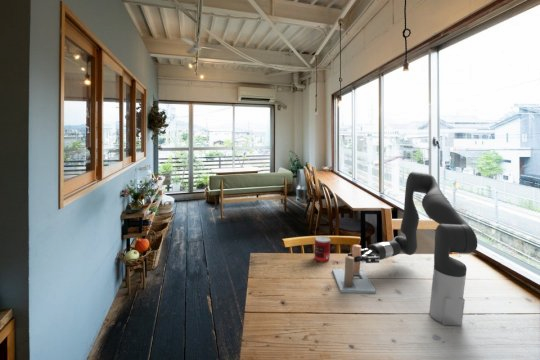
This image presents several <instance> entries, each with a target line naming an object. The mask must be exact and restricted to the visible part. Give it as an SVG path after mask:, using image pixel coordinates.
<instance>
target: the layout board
mask: <svg viewBox="0 0 540 360" xmlns="http://www.w3.org/2000/svg"><path fill="white" fill-rule="evenodd" d="M344 259H345V260H344V262H345V263H344V269H343V268H342V269H341V268H337V269H336V268H332V274H333V276H334V279H335V282H336V284H337V286H338V289H339V292H340V293H347V294H348V293H350V294H353V293H355V294H357V293H358V294H376V293H377V291H376V289H375V287H374V286H373V284H372V282H371V281H370V279H369V278H368V275H367V274H366V273H365V271H364V269H360V273H358V274H356V273H353V269H354V257H351V256H348V255H347V256H345V258H344ZM354 276H359V277H360V278H354Z"/></svg>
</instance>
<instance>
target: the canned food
mask: <svg viewBox="0 0 540 360" xmlns="http://www.w3.org/2000/svg"><path fill="white" fill-rule="evenodd" d="M330 256H331V238H330V237H328V236H324V235H319V236H315V239H314V259H315V260H316V261H317V262H319V263H327V262H329V261H330Z"/></svg>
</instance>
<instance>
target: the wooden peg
mask: <svg viewBox="0 0 540 360" xmlns="http://www.w3.org/2000/svg"><path fill="white" fill-rule="evenodd" d="M352 249H353V253H352V252H351V253H352V257H357V256H361V249H362V245H360V244H352ZM360 270H361V261H360V262H354V269H353V273H356V274H358V273H360Z"/></svg>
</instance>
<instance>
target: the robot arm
mask: <svg viewBox="0 0 540 360" xmlns="http://www.w3.org/2000/svg"><path fill="white" fill-rule="evenodd" d="M414 193H419V194H420V193H421V194H425V195H424V196H423V198H422V200H421V205H422V208H423V210H424V211H425V212H424V213H426V215H427V217H428V218H430V219H431V220H432V221H434V222H435V223H436V224H438V225H437V227H436V228H435V232H434V253H433V258H434V259H433V273H432V280H431V281H432V283H431V289H430V290H431V293H430V301H429V302H430V303H429V315H430V316H431V318H432V319H434V320H435V321H437V322H438V323H440V324H442V326H463V320H464V319H463V318H464V308H465V298H464V295H465V285H466V279H467V277H466V276H467V266H466V265H465V263H463V262H462V261H460V260H458V259H456V258H454V257H451V256H450V253H456V254H457V253H458V254H471V253H474V252H475V251H476V250H477V248H478V237H477V234H476V232H475V231H474V229H473V228H472V227H471V226H470V224H468V223H467V222H466V220H464V219H463V218H462V217H461V215H460V214H459V213H458V212H457V211H456V210H455V208H454V207H453V206H452V204H451V202H450V201H449V200H448V199H447V197H446V196H445V194H444V193H443V192H442V190H441V188H440V187H439V185H438V182H437V180H436V178H435V177H434V176H433V175H432V174H430V173H425V172H424V173H423V172H417V171H412V172H409V174H408V175H407V179H406V183H405V193H404V202H403V204H404V205H403V206H404V207H403V215H402V220H401V224H400V228H399V230H400V232H401V233H402V234H404V236H402V235H397V236H395V237H393V238H391V239H390V240H388V241H381V242H376V243H372V244H369V245H368V246H367V247H366V248H361V256H357V257H354V262H360V263H361V262H362V263H363V262H365V263H366V264H377V263H380V261H382V260H386V259H389V258H390V257H391V258H392V257H394V256H398V255H399V254H400V253H403V254H406V255H409V256H412V255H414V254H415V253H416V252H417V249H418V237H417V232H418V226H419V222H420V216H419V212H418V210H417V207H416V204H415V201H414ZM352 253H353V248H352V250H351V252H349V253H347V256H351V257H352Z"/></svg>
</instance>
